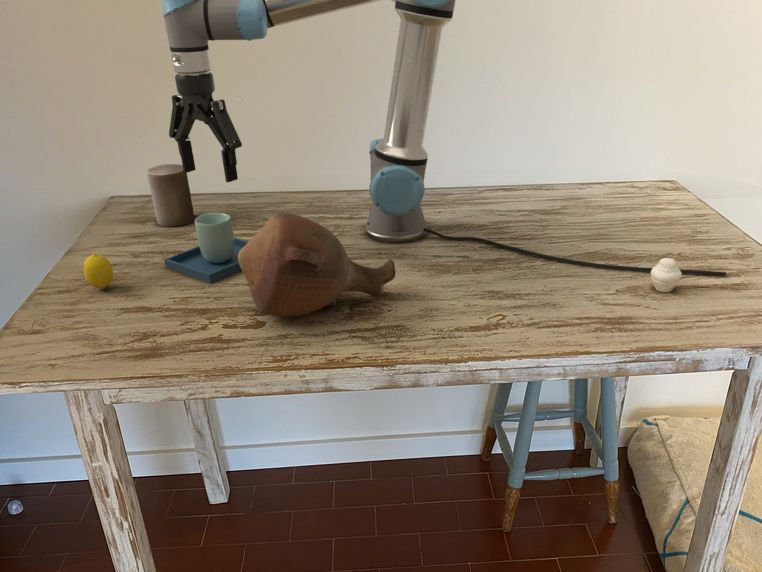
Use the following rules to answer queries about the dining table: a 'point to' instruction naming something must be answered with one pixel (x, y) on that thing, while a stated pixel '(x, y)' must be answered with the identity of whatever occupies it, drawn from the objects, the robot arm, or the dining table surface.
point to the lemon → (98, 271)
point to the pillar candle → (170, 195)
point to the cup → (215, 237)
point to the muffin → (666, 275)
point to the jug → (303, 268)
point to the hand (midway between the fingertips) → (210, 176)
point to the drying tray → (205, 264)
